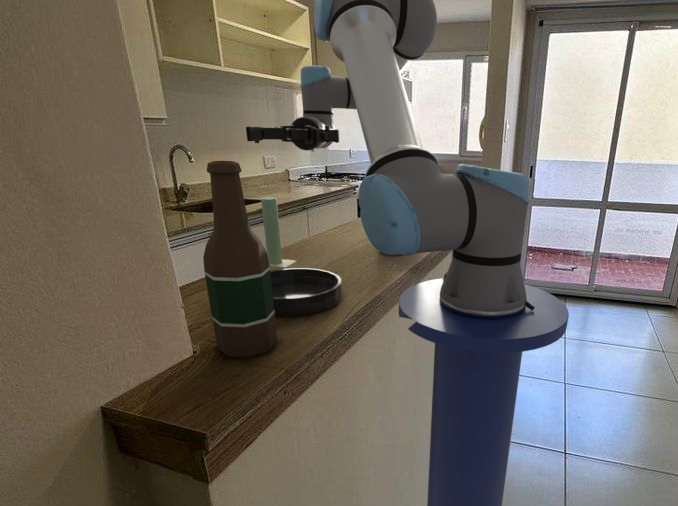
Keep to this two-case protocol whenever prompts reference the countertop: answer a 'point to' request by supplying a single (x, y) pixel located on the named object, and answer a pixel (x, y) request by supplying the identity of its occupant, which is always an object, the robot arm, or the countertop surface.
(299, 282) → the black shallow round dish
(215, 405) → the countertop surface
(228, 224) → the beer bottle
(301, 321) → the countertop surface
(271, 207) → the green peg on base
